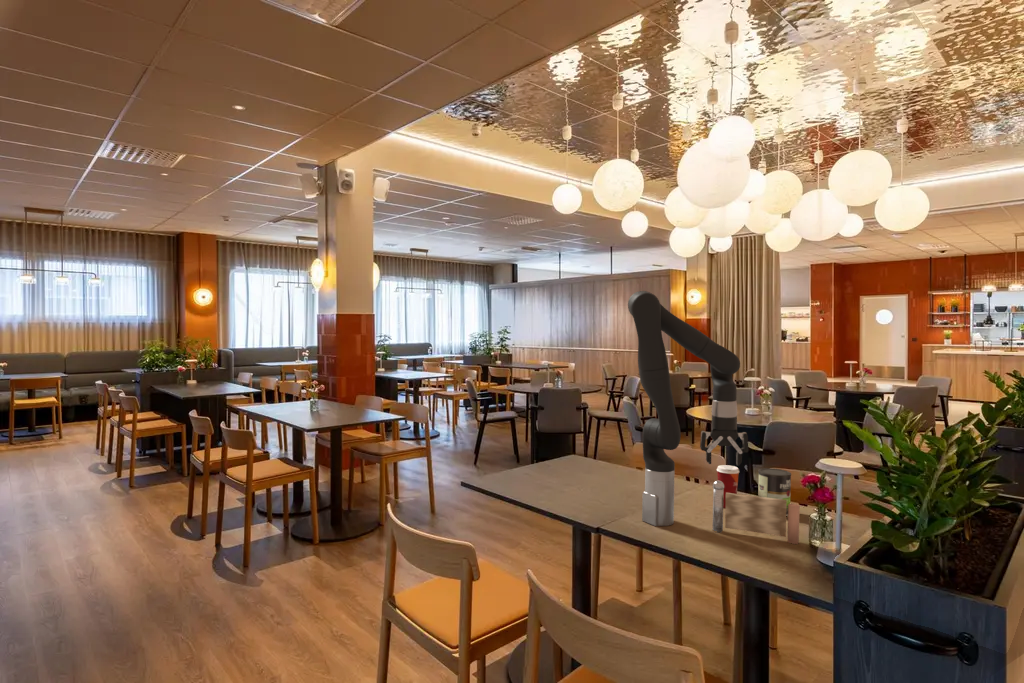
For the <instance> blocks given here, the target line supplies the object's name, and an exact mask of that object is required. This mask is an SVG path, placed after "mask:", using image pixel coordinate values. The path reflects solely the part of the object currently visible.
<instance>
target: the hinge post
mask: <svg viewBox="0 0 1024 683" xmlns="http://www.w3.org/2000/svg"><path fill="white" fill-rule="evenodd" d="M712 492H713V493H712V531H713V530H714V531H717V532H716V533H719V532H720V533H723V532H722V531H724V508H723V494H724V484H723V482H721V481H719V480H718V479H717V480H715V481H714V482H713V483H712ZM714 531H713V532H714Z"/></svg>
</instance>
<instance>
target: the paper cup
mask: <svg viewBox="0 0 1024 683" xmlns="http://www.w3.org/2000/svg"><path fill="white" fill-rule="evenodd" d="M716 472H717V480H719V481H721V482H723V484H724V494H723V509H726V493H734V494H738V484H739V473H740V469H739V468H738V467H737V466H735V465H728V464H727V465H726V464H721V465H717V468H716Z"/></svg>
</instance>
